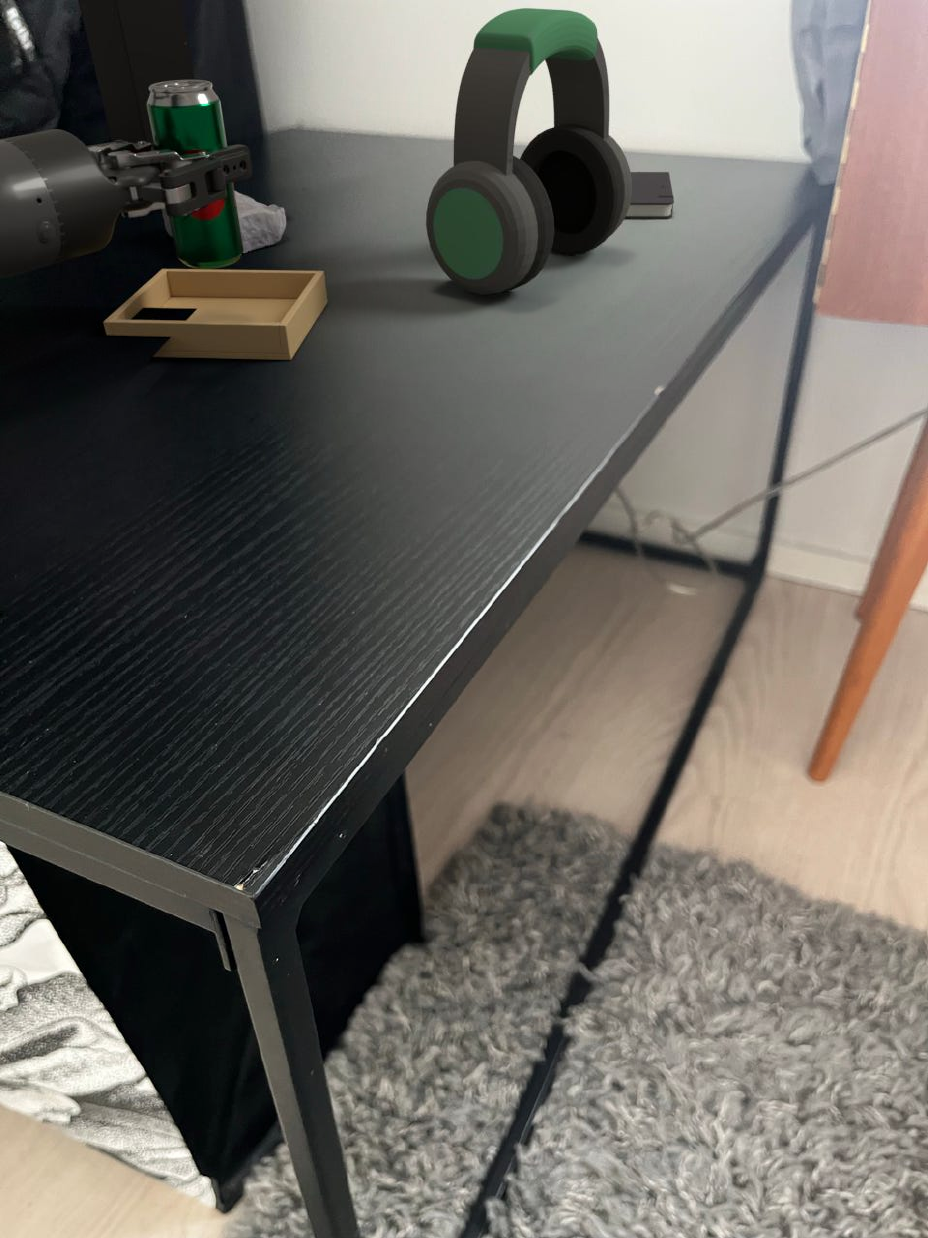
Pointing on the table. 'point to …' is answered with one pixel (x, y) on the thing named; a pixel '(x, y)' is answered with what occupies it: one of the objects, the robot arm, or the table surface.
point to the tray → (227, 312)
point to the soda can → (186, 127)
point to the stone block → (253, 222)
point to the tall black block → (135, 58)
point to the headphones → (528, 156)
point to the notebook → (651, 195)
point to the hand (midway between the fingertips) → (220, 155)
